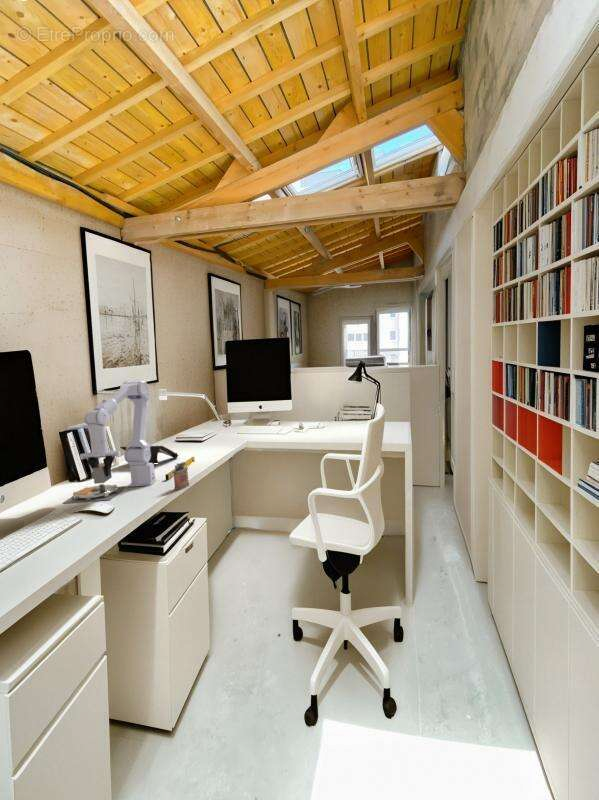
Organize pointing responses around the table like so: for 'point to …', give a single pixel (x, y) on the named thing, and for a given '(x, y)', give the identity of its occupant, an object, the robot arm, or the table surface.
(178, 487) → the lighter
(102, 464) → the orange striped gray block
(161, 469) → the table surface
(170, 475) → the spirit level
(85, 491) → the sprocket
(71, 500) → the base plate
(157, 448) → the portable electronic device stand
